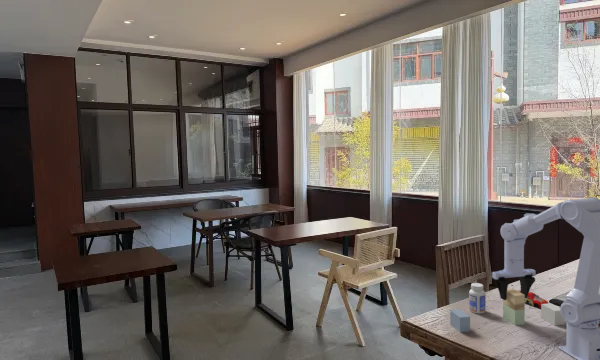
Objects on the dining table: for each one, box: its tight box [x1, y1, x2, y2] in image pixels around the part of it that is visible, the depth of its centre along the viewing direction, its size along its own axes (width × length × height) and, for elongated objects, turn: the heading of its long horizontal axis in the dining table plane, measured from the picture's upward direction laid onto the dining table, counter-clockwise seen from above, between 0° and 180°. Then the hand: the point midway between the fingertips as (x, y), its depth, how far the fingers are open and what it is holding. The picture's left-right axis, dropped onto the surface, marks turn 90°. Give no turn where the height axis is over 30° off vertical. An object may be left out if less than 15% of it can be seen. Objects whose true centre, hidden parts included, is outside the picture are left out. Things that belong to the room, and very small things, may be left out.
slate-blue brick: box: [449, 308, 471, 333], centre depth 129 cm, size 6×4×5 cm, turn 8°
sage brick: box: [502, 303, 526, 326], centre depth 133 cm, size 6×4×5 cm, turn 8°
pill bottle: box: [468, 282, 487, 315], centre depth 142 cm, size 5×5×10 cm
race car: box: [515, 289, 549, 309], centre depth 148 cm, size 13×5×4 cm, turn 24°
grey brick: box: [540, 302, 565, 327], centre depth 132 cm, size 6×4×5 cm, turn 8°
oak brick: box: [502, 288, 526, 311], centre depth 133 cm, size 6×4×5 cm, turn 7°
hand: (513, 298), depth 133 cm, fingers open, 7 cm apart
